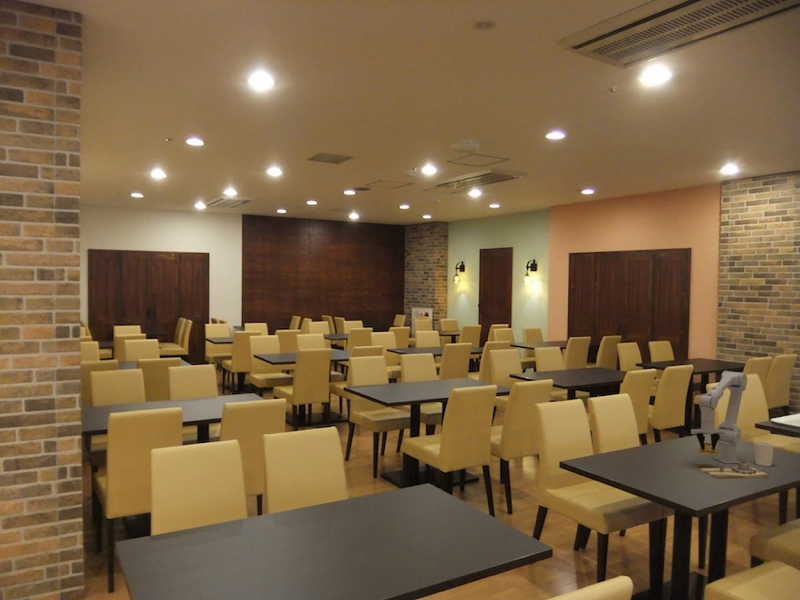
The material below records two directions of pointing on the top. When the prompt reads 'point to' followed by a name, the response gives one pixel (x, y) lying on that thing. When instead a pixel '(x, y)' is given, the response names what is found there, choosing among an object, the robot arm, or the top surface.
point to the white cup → (763, 453)
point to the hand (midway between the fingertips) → (707, 449)
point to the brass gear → (707, 450)
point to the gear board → (735, 471)
